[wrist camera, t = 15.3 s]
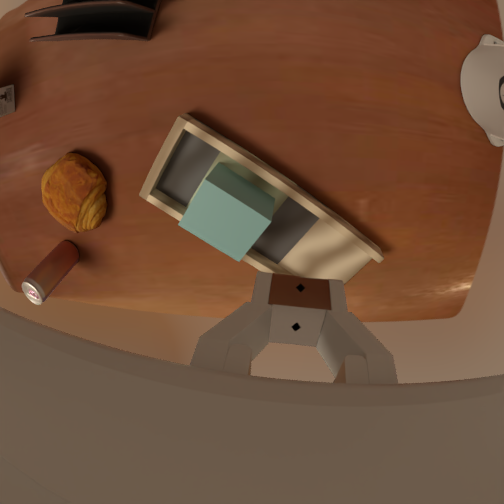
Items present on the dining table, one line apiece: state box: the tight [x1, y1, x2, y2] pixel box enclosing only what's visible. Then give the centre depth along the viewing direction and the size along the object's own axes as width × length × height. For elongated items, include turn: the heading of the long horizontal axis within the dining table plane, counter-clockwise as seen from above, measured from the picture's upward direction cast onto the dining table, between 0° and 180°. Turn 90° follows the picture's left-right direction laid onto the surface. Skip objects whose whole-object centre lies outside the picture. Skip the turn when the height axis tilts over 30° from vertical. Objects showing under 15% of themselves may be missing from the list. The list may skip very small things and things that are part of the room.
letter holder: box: [25, 0, 161, 41], centre depth 24 cm, size 10×20×14 cm, turn 75°
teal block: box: [178, 162, 275, 262], centre depth 42 cm, size 10×8×8 cm
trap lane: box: [139, 113, 384, 284], centre depth 46 cm, size 38×14×3 cm, turn 57°
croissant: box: [42, 153, 108, 233], centre depth 46 cm, size 14×16×8 cm
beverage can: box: [22, 241, 79, 305], centre depth 51 cm, size 6×6×15 cm
